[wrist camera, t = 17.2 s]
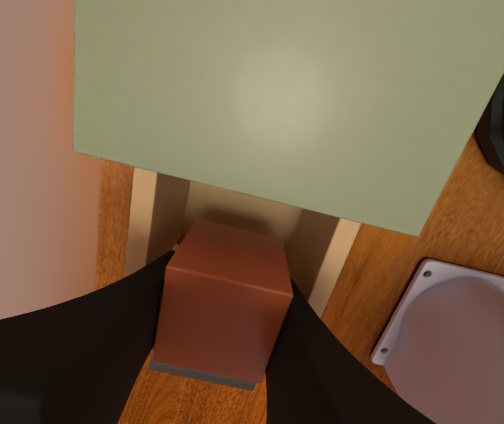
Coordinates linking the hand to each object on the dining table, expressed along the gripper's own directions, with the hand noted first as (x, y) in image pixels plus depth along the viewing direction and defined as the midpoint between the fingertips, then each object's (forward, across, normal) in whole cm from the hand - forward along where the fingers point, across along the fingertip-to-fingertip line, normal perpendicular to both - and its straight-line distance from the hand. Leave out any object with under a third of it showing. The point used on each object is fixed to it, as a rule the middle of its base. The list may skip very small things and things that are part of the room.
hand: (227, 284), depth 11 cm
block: (+1, 0, 0) cm, 1 cm away
